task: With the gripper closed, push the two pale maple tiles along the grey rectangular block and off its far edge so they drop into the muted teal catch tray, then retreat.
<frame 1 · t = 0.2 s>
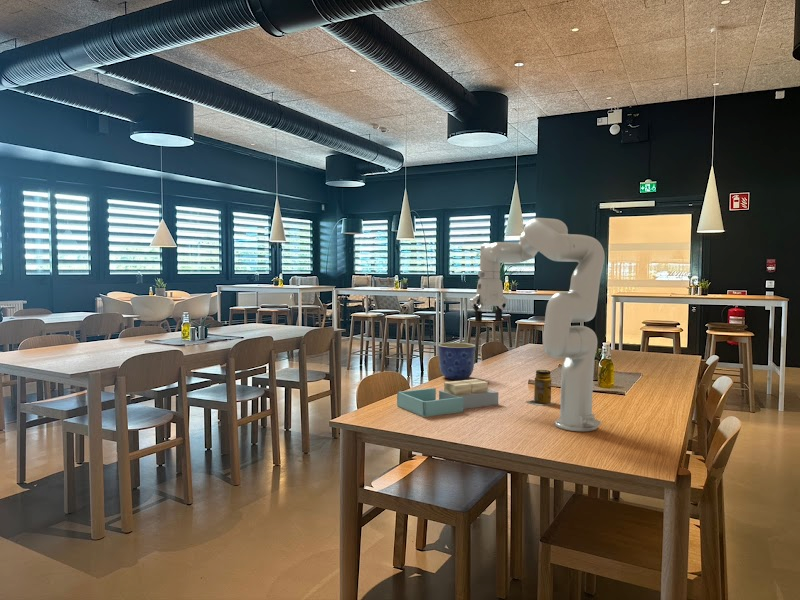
hand: (488, 321, 215), 30 cm above the table, fingers open, 9 cm apart
grey rectangular block: (468, 403, 207), on the table
condiment: (540, 403, 210), on the table
tile b: (457, 392, 204), point 4 cm above the table, touching grey rectangular block
tray: (429, 408, 199), on the table
tile a: (474, 390, 208), point 4 cm above the table, touching grey rectangular block
planter: (456, 378, 258), on the table
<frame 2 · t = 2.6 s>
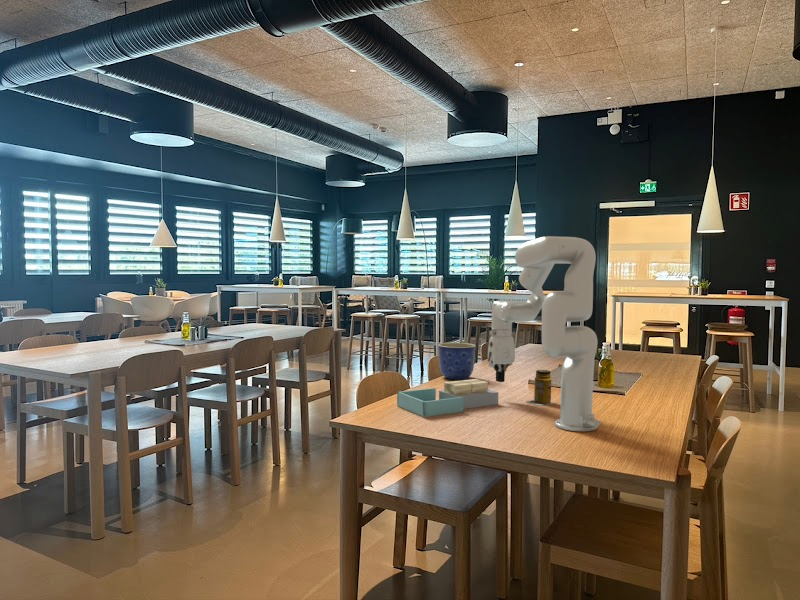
hand: (500, 381, 215), 7 cm above the table, fingers closed
nothing on the table moved.
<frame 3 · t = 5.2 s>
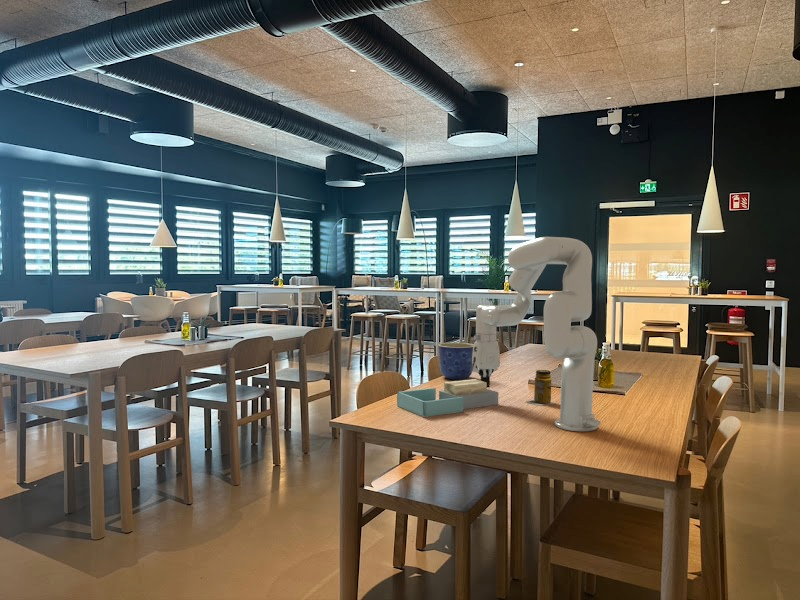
hand: (485, 386, 211), 5 cm above the table, fingers closed
nothing on the table moved.
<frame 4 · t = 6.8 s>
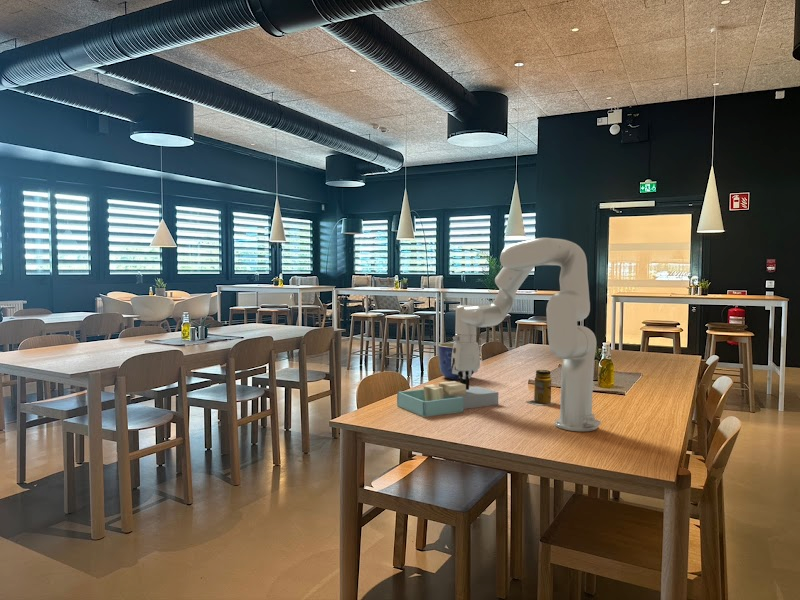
hand: (464, 389, 206), 6 cm above the table, fingers closed
tile b: (438, 395, 200), point 4 cm above the table, tilted 97°, touching tray
tile a: (452, 393, 203), point 5 cm above the table, touching gripper
everything else where it was.
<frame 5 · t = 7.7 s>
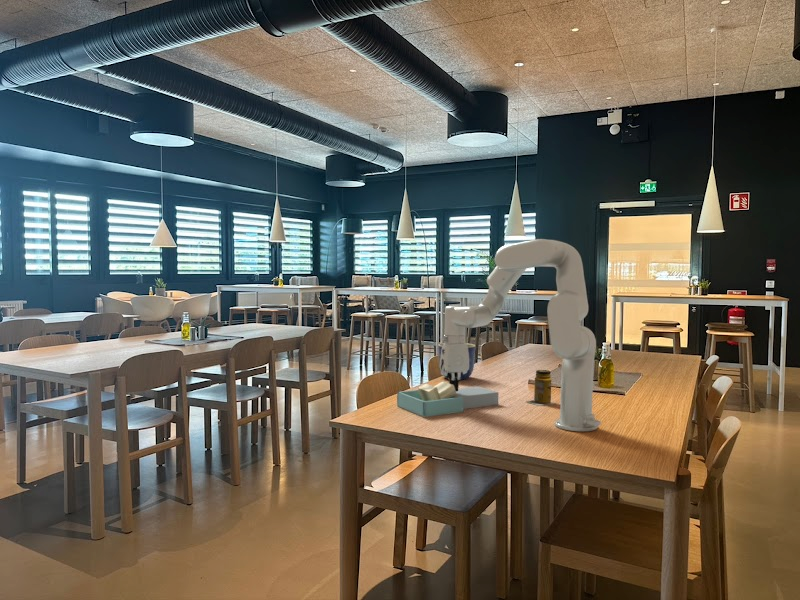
hand: (453, 390, 204), 5 cm above the table, fingers closed
tile b: (434, 393, 199), point 5 cm above the table, tilted 112°, touching tile a, tray
tile a: (443, 396, 202), point 4 cm above the table, tilted 22°, touching gripper, tile b
everything else where it was.
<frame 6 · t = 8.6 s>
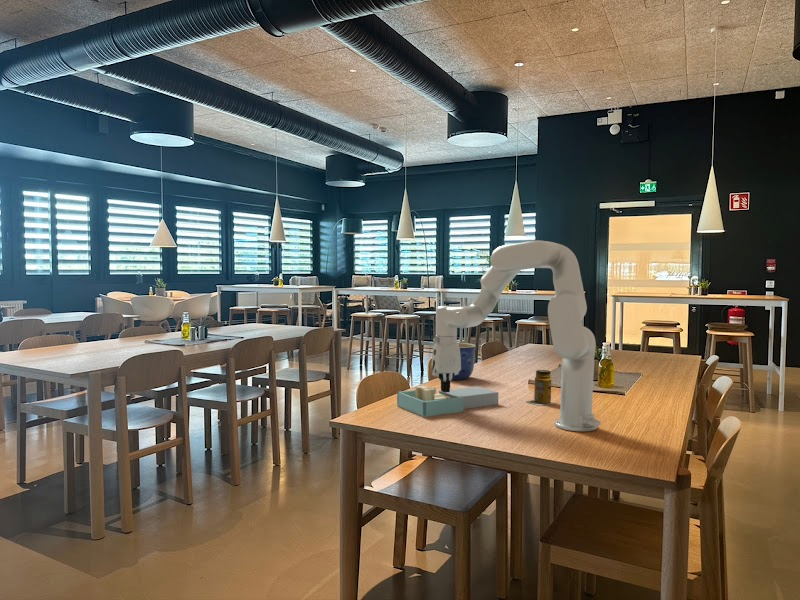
hand: (445, 391, 202), 5 cm above the table, fingers closed
tile b: (429, 397, 198), point 4 cm above the table, tilted 89°, touching tray
tile a: (436, 406, 201), resting on tray
everything else where it was.
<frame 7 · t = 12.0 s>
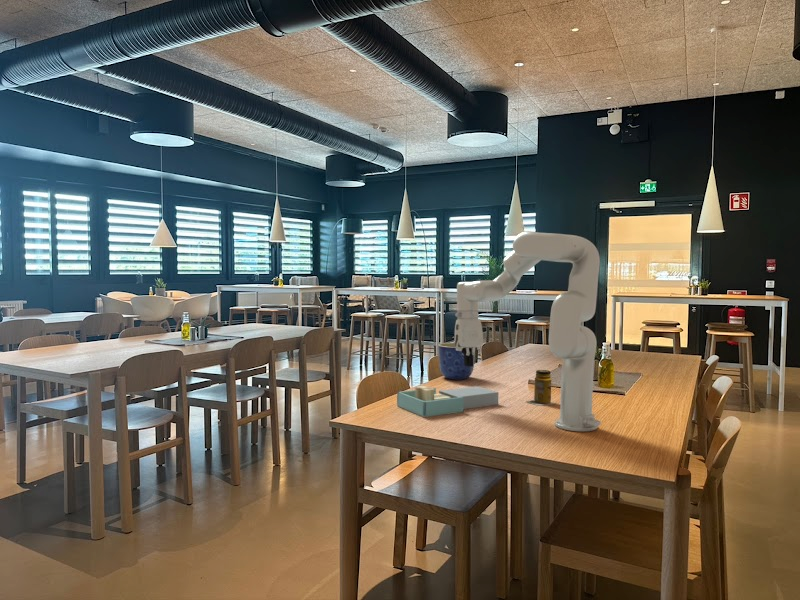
hand: (468, 366, 205), 14 cm above the table, fingers closed
nothing on the table moved.
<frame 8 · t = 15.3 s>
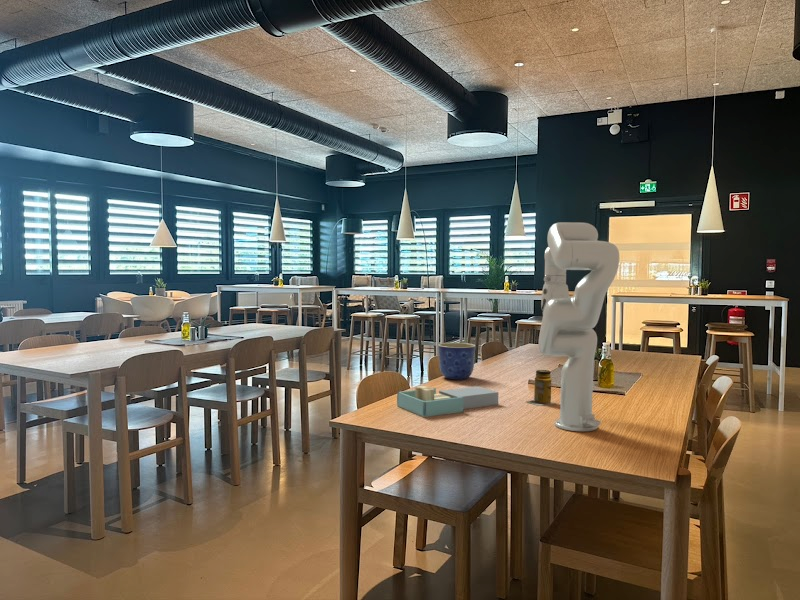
hand: (554, 330, 206), 27 cm above the table, fingers closed
nothing on the table moved.
at the end: tile a inside the target area on the tray (3.1 cm from its centre), point 0.5 cm above the tray's base; tile b inside the target area on the tray (0.6 cm from its centre), point 4.0 cm above the tray's base; tile a touching tray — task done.
